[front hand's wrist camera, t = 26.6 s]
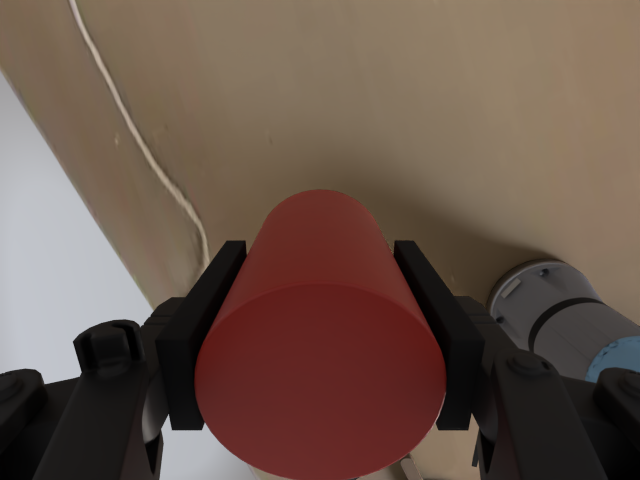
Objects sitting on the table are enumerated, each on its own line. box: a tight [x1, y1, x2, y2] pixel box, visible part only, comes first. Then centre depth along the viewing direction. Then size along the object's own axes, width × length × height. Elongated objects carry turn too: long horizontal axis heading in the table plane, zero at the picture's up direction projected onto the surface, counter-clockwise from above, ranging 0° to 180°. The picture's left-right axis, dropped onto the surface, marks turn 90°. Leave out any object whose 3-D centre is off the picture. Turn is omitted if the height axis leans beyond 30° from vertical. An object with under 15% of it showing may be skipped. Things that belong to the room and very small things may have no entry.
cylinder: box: [194, 190, 447, 480], centre depth 13 cm, size 6×6×9 cm
